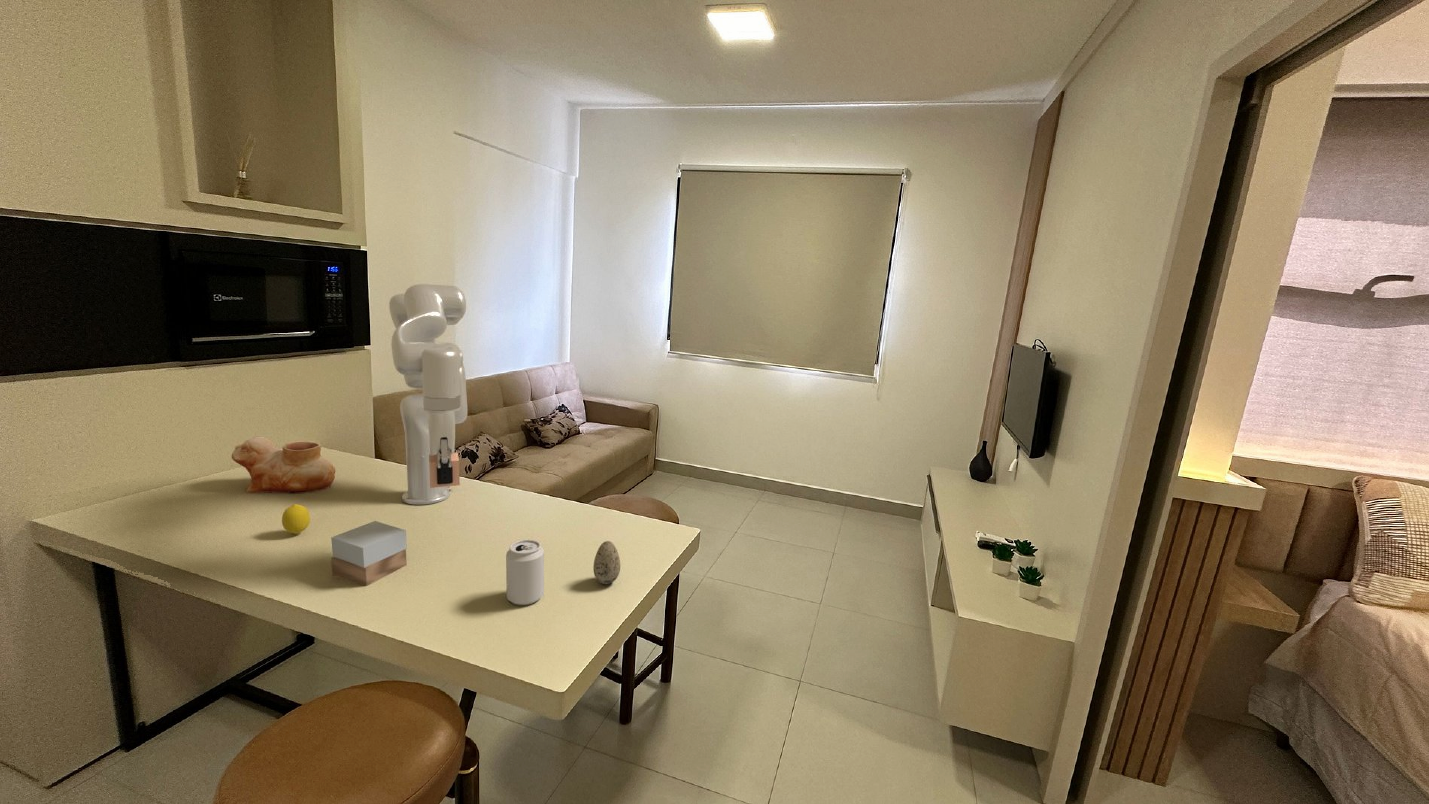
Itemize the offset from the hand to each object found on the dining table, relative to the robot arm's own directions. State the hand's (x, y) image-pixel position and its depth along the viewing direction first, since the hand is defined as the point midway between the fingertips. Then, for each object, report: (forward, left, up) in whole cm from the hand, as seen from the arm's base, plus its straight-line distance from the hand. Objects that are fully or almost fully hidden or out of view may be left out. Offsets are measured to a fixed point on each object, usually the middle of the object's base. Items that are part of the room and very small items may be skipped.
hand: (444, 477), depth 127 cm
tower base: (+14, -7, -20) cm, 25 cm away
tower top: (+14, -7, -16) cm, 22 cm away
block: (0, 0, -1) cm, 1 cm away
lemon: (+16, -38, -20) cm, 46 cm away
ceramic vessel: (+4, -76, -20) cm, 78 cm away
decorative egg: (-15, +37, -20) cm, 45 cm away
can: (0, +28, -20) cm, 35 cm away
